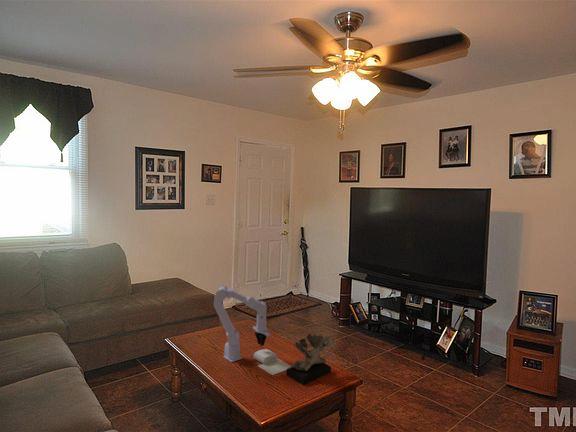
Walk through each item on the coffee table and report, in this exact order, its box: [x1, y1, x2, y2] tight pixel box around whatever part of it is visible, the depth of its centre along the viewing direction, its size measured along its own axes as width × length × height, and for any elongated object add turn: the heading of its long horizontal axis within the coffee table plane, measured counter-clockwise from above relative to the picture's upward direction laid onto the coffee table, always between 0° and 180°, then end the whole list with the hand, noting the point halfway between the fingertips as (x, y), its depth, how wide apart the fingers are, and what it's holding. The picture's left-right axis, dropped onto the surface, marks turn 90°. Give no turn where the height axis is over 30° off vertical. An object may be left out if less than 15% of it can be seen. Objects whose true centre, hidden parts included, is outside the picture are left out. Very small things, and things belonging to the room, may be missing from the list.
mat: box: [257, 358, 293, 376], centre depth 216 cm, size 14×15×1 cm
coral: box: [285, 333, 335, 386], centre depth 207 cm, size 25×20×22 cm
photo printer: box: [253, 348, 279, 364], centre depth 225 cm, size 10×4×12 cm
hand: (261, 344), depth 226 cm, fingers closed
